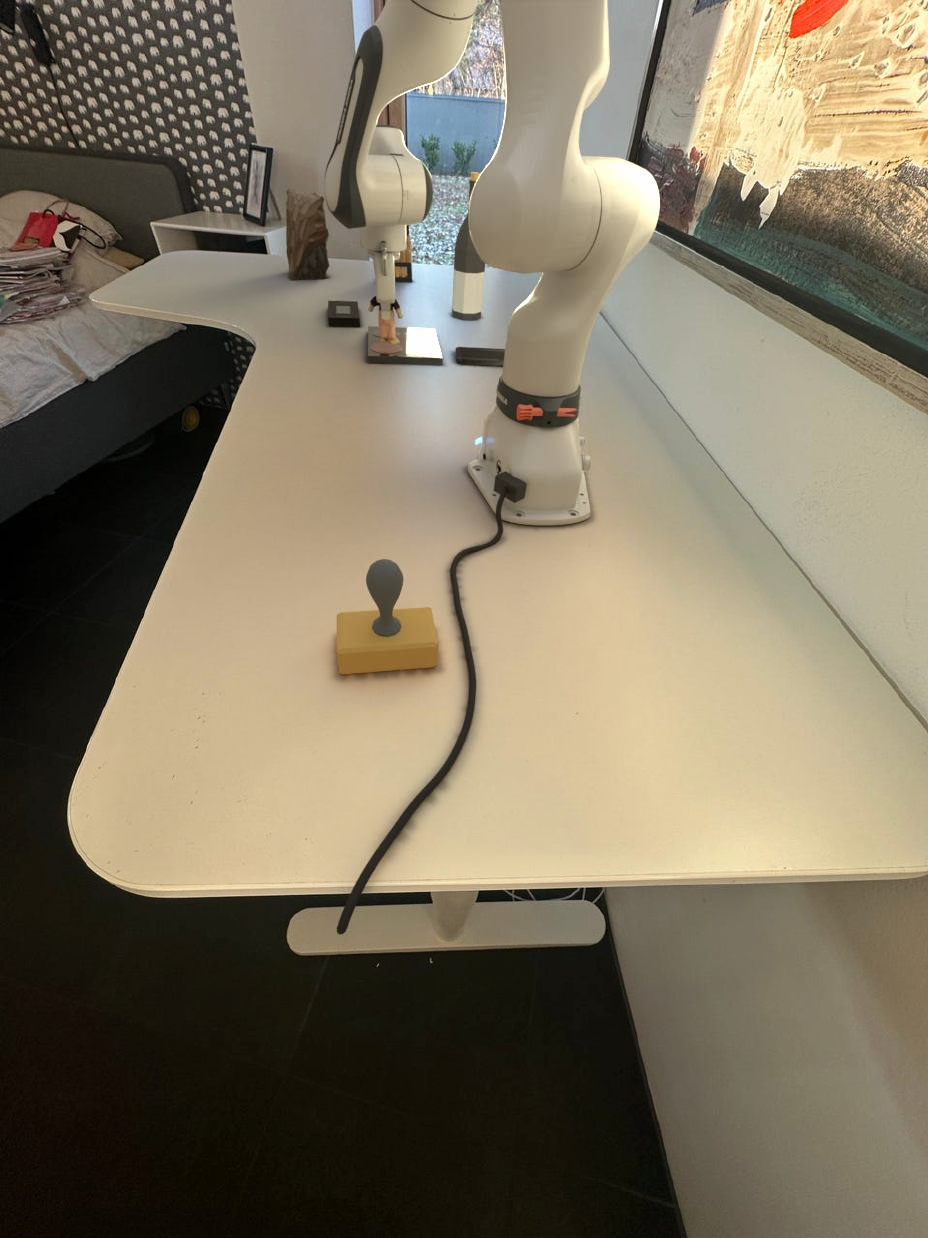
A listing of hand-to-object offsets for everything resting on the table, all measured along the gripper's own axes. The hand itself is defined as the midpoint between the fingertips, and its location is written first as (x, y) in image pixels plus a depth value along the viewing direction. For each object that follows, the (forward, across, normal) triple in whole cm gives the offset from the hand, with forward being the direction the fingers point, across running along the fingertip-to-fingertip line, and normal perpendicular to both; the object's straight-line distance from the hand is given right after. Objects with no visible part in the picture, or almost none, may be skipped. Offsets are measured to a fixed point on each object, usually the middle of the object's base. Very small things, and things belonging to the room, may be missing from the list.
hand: (385, 315), depth 116 cm
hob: (+8, +5, -4) cm, 10 cm away
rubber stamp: (+8, -89, +2) cm, 89 cm away
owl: (+8, +66, +23) cm, 70 cm away
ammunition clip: (+8, +65, -4) cm, 66 cm away
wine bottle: (+8, +32, -22) cm, 40 cm away
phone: (+8, -1, -23) cm, 24 cm away
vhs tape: (+8, +26, +10) cm, 29 cm away
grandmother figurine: (+5, 0, 0) cm, 5 cm away
